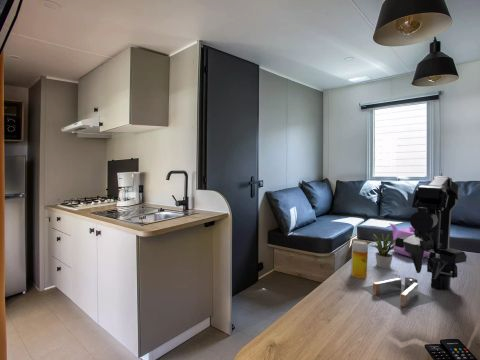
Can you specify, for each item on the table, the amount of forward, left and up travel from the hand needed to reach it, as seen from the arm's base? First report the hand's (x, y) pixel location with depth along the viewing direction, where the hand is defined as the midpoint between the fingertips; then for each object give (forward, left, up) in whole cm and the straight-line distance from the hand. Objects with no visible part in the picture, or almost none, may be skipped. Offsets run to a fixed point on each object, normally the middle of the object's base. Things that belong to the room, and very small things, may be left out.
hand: (426, 275), depth 87 cm
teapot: (-55, -44, -13) cm, 72 cm away
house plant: (-23, -34, -13) cm, 43 cm away
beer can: (-4, -31, -13) cm, 33 cm away
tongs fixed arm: (-2, -15, -12) cm, 19 cm away
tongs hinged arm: (-5, -10, -12) cm, 16 cm away
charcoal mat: (-4, -13, -13) cm, 18 cm away
